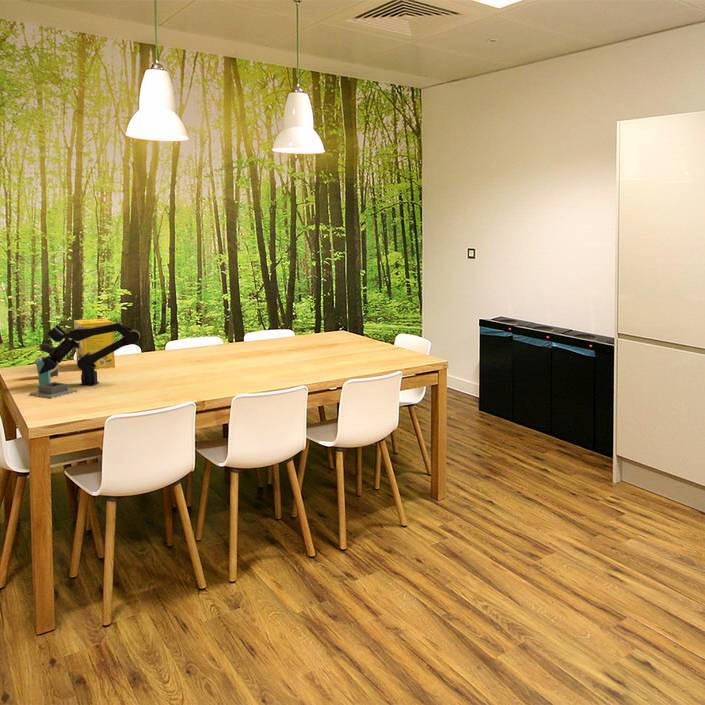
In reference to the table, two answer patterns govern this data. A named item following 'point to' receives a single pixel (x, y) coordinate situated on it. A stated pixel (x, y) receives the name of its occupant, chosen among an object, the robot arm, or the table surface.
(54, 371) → the food container
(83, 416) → the table surface
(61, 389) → the socket
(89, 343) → the packaging box
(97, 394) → the table surface
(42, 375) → the plug
